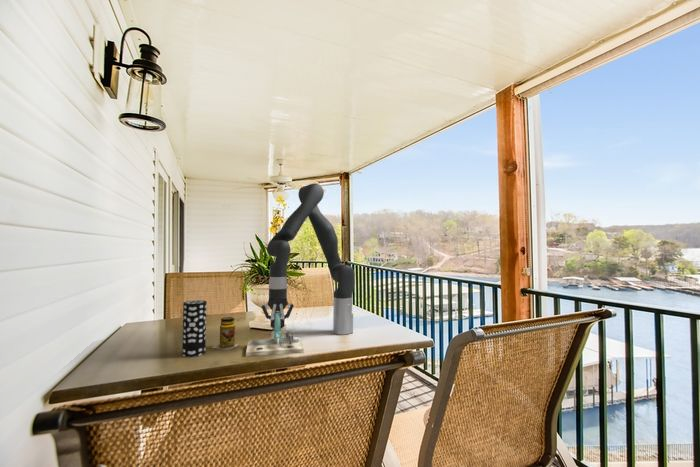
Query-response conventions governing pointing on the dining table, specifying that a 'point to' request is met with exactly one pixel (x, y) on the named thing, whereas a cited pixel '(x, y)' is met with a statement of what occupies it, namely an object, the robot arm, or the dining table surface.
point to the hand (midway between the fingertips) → (277, 328)
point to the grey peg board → (275, 346)
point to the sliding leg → (277, 326)
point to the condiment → (227, 334)
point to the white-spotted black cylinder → (194, 328)
